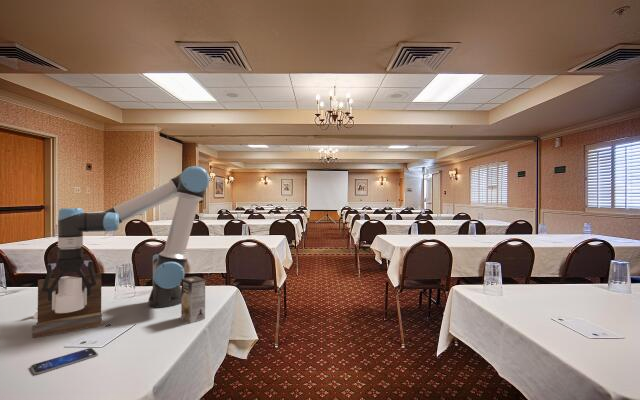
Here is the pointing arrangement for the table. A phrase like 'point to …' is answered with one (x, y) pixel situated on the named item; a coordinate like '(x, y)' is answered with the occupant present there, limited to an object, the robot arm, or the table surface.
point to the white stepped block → (69, 295)
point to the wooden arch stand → (72, 320)
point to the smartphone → (63, 361)
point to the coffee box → (193, 299)
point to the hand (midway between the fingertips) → (69, 306)
